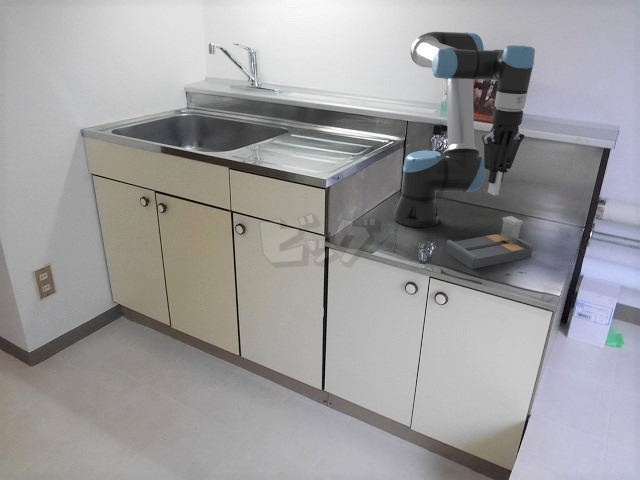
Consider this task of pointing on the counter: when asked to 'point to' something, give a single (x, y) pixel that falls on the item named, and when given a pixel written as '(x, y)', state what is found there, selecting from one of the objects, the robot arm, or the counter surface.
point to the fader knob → (510, 229)
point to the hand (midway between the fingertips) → (492, 193)
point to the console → (487, 251)
